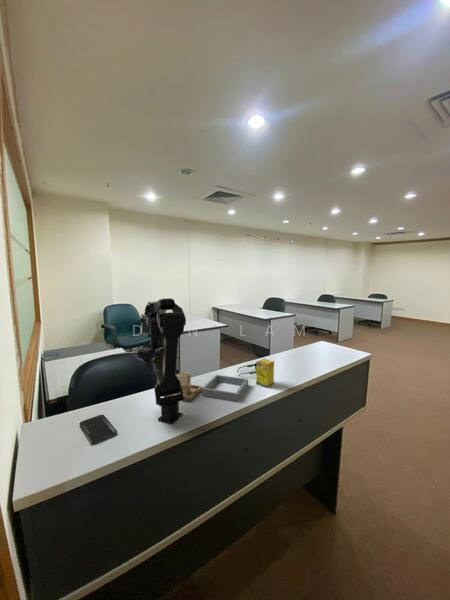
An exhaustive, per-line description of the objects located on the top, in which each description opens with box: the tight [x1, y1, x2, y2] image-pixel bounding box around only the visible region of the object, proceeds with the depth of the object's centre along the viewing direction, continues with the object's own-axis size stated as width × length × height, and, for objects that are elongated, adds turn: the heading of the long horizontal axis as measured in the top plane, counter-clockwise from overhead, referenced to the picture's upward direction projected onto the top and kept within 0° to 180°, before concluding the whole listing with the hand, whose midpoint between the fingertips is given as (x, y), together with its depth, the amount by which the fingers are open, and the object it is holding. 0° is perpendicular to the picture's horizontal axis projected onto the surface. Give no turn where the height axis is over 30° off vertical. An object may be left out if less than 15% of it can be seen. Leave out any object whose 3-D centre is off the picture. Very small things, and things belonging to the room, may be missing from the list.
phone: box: [78, 414, 118, 446], centre depth 82 cm, size 8×1×15 cm
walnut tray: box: [163, 384, 203, 403], centre depth 107 cm, size 12×12×2 cm
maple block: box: [176, 371, 192, 395], centre depth 106 cm, size 4×4×8 cm
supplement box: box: [255, 358, 275, 389], centre depth 115 cm, size 6×6×11 cm
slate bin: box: [201, 374, 249, 402], centre depth 109 cm, size 16×16×3 cm
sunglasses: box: [236, 362, 256, 377], centre depth 128 cm, size 10×12×5 cm
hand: (158, 367), depth 104 cm, fingers open, 9 cm apart
